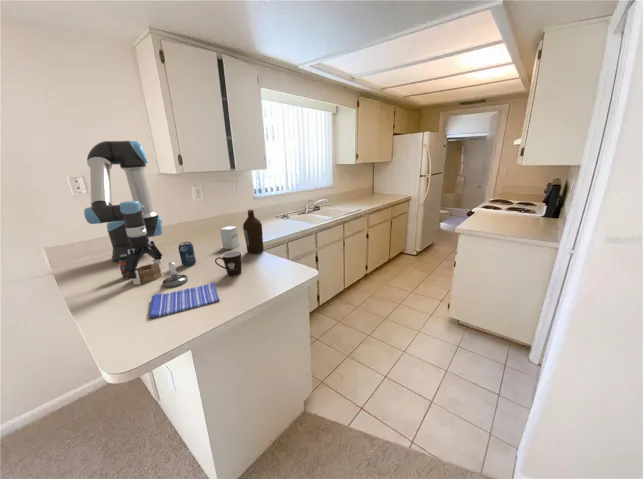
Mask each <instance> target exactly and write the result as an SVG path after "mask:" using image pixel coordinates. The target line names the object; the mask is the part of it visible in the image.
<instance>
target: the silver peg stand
mask: <svg viewBox="0 0 643 479" xmlns="http://www.w3.org/2000/svg"><path fill="white" fill-rule="evenodd" d="M168 267H169V273H170V276H169V277H167V278H165V279H164V280H162V285H163V287H164V288H168V289H169V288H176V287H179V286H183V285H184V284H186V283H187V282H188V281H189V278H188V275H186V274H178V272H177V269H176V264H175V262H174V261H172V262H169V263H168Z"/></svg>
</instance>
